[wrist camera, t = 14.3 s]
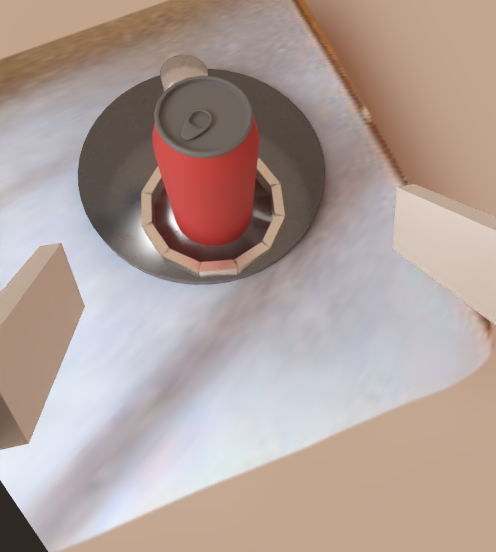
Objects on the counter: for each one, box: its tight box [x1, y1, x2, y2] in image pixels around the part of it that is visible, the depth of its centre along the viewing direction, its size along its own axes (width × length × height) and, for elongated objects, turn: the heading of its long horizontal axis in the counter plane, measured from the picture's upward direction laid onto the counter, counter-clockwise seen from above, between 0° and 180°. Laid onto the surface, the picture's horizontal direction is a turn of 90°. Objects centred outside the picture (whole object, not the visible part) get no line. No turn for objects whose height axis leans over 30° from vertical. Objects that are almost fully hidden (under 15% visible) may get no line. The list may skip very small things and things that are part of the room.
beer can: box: [152, 75, 260, 246], centre depth 27 cm, size 7×7×12 cm
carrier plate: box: [78, 55, 325, 285], centre depth 33 cm, size 22×22×5 cm
